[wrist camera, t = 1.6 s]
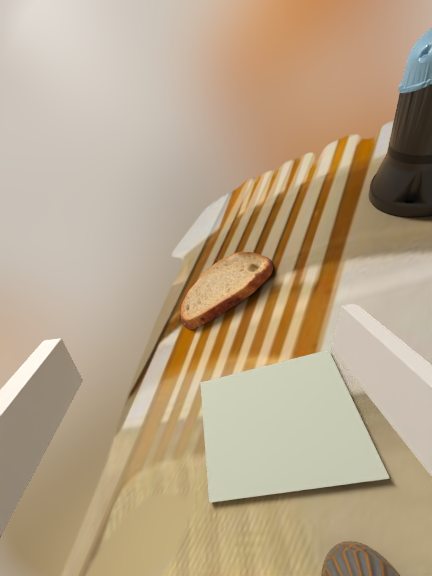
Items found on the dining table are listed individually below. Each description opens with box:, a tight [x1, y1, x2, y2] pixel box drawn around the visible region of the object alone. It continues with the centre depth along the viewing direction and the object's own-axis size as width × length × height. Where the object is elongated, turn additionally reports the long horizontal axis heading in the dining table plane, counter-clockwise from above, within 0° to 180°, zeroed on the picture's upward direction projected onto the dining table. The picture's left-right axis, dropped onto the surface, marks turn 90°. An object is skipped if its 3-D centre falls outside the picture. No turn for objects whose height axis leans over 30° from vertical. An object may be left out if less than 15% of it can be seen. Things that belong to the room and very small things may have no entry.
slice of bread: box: [181, 252, 273, 329], centre depth 45 cm, size 18×18×4 cm
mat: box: [201, 350, 389, 503], centre depth 30 cm, size 20×14×1 cm
